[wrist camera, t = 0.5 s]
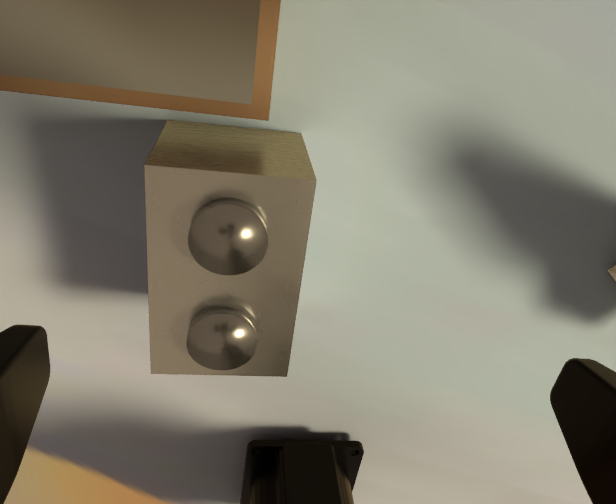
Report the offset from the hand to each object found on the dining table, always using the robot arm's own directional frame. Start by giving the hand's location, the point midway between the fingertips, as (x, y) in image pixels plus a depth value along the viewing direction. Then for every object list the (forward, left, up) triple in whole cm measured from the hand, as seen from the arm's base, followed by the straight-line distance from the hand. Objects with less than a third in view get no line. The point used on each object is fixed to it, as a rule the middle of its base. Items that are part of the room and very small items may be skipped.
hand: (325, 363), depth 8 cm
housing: (-4, +2, -13) cm, 13 cm away
